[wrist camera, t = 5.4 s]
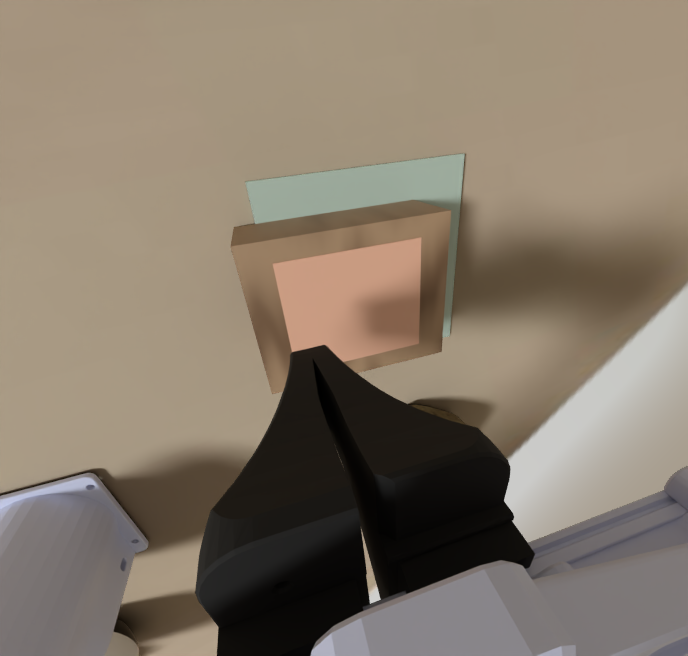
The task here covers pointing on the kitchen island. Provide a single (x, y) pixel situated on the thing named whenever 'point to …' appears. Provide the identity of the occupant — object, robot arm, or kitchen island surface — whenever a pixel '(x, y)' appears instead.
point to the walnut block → (346, 284)
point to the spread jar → (122, 641)
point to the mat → (368, 196)
